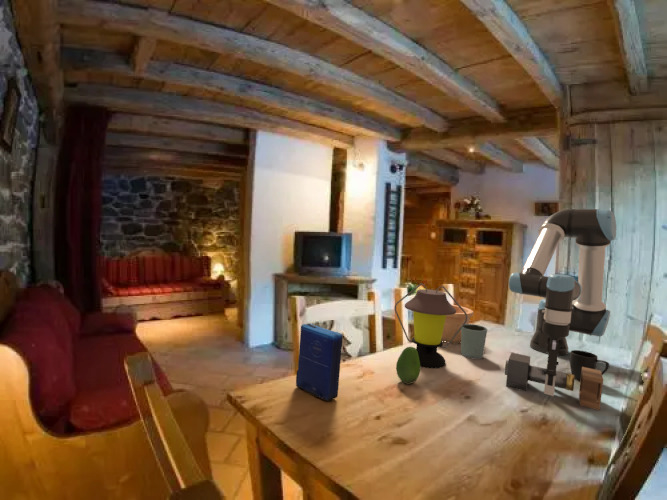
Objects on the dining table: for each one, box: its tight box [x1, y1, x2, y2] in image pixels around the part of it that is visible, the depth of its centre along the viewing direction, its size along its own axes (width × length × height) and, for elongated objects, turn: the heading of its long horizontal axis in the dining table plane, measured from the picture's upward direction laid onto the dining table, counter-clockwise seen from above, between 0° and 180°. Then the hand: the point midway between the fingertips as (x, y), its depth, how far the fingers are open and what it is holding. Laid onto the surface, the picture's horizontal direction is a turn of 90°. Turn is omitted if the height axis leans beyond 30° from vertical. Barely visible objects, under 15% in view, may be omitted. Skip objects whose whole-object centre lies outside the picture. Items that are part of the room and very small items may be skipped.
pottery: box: [441, 304, 474, 344], centre depth 181 cm, size 22×22×14 cm
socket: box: [578, 367, 604, 411], centre depth 120 cm, size 9×5×10 cm, turn 149°
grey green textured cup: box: [460, 323, 488, 360], centre depth 158 cm, size 10×10×12 cm
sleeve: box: [505, 352, 531, 392], centre depth 130 cm, size 8×6×9 cm
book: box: [295, 323, 343, 402], centre depth 113 cm, size 14×5×20 cm, turn 49°
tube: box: [504, 359, 575, 392], centre depth 127 cm, size 20×5×5 cm, turn 59°
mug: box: [569, 349, 610, 382], centre depth 137 cm, size 8×12×10 cm
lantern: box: [393, 282, 467, 369], centre depth 147 cm, size 25×19×30 cm
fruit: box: [395, 346, 421, 384], centre depth 126 cm, size 8×8×12 cm
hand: (549, 388), depth 126 cm, fingers open, 10 cm apart
